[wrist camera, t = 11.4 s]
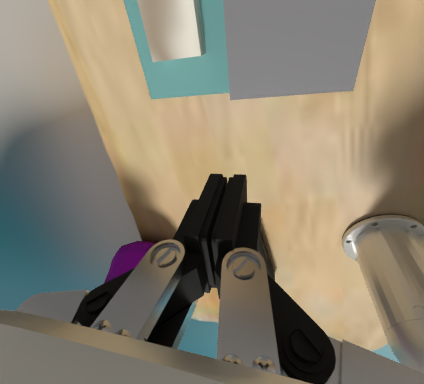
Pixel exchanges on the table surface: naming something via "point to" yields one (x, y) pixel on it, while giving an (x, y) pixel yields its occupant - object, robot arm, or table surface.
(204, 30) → the mat
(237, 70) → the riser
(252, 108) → the table surface
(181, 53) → the tile
